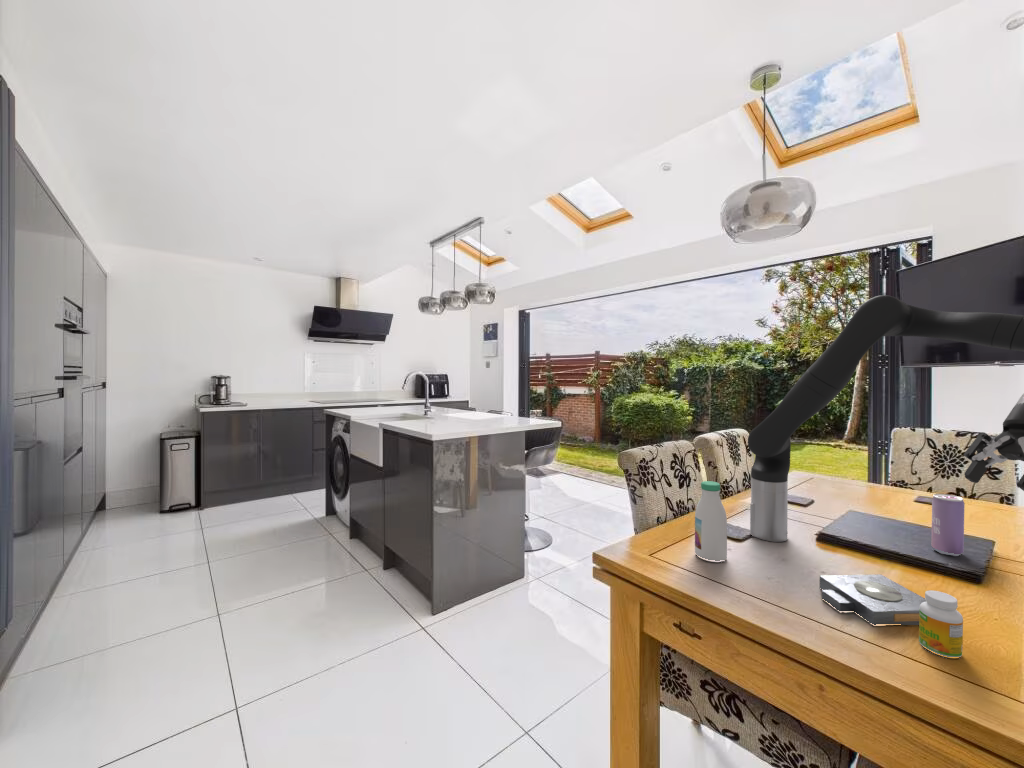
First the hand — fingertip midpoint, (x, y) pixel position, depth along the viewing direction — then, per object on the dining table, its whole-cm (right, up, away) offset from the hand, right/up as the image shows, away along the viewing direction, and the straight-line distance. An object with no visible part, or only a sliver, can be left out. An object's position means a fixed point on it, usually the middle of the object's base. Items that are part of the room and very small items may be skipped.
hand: (995, 484), depth 77 cm
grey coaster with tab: (-14, -28, +11) cm, 33 cm away
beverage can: (+27, -27, +35) cm, 52 cm away
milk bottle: (-36, -28, +35) cm, 57 cm away
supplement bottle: (-13, -29, -3) cm, 32 cm away
